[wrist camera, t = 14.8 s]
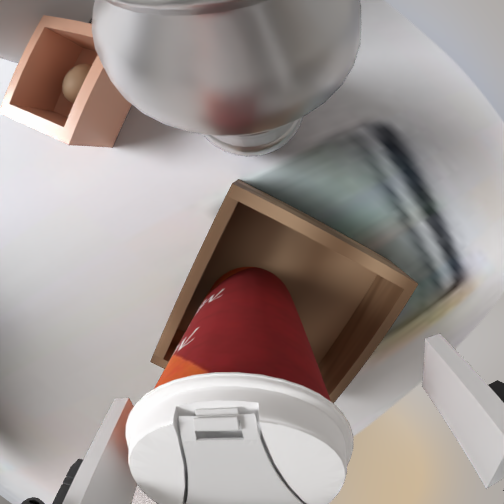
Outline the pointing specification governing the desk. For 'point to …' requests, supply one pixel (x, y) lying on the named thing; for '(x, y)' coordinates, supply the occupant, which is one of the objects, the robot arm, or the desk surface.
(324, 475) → the coffee cup
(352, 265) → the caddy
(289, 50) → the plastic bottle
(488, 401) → the robot arm
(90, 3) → the cylinder vase
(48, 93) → the planter
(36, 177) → the desk surface
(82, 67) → the cork ball
